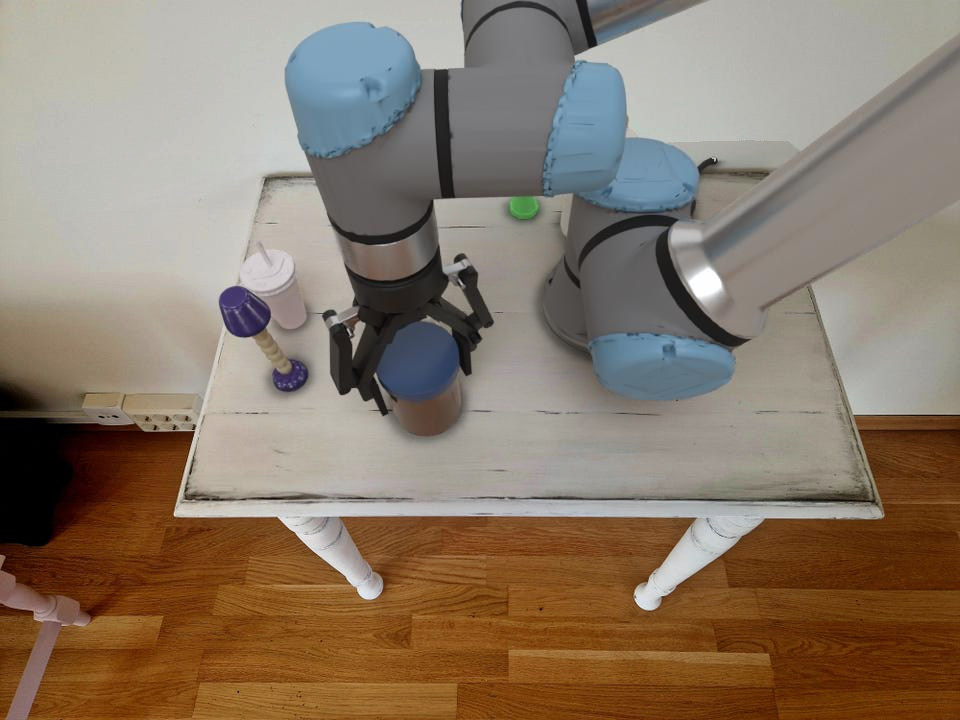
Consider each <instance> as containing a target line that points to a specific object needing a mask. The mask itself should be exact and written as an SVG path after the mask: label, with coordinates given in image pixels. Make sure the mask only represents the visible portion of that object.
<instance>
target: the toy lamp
mask: <svg viewBox="0 0 960 720" xmlns="http://www.w3.org/2000/svg"><path fill="white" fill-rule="evenodd" d="M218 307H219V311H220V314H221V317H222V320H223V323H224V326H225V328H226V330H227V331H228V332H229V333H230V334H231V335H232V336H234V337H236V338H241V339H245V338H246V339H247V338H252V339H253V340H254V342H255V343H256V345H257V346H259V347H260V351H262V353H263V354H264V355H265V356H266V358H267V359H268V360H269V361H270V363H271V364H272V366H274V369H273V370H272V375H271V376H272V382H273V383H272V384H273V385H274V387H275V388H276V389H277V390H278V391H281V392H283V393H284V392H285V393H288V392H289V393H291V392H295V391H297V390H298V389H300V388H302V387H303V386H304V385H305V384H306V382H307V380H308V378H309V370H308V368H307V366H306V365H305V364H304V363H303V362H302V361H300V360H298V359H292V358H288V357H287V355H286V354H285V353H284V351H283V349H282V348H281V347H280V346H279V343H278V342H277V341H276V340H275V339H274V337H273V336H272V334H271V333H270V332H269V330H268V325H269V324H270V322H271V319H272V318H271V317H272V315H271V311H270V308H269V306H268V305H267V304H266V303H265V302H264V301H263V300H262V299H260V298H259V297H257V296H256V295H255V294H253V293H252V292H251V291H249V290H248V289H246V288H244V286H243V285H242V286H241V285H232V286H230V287H227V288H226V289H224V290H223V291H222V292H221V293H220V295H219V297H218Z"/></svg>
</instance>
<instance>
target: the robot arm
mask: <svg viewBox="0 0 960 720" xmlns="http://www.w3.org/2000/svg"><path fill="white" fill-rule="evenodd" d="M709 1H710V0H461V2H460V14H459V15H460V20H461V27H462V33H463V48H464V49H463V51H464V53H463V57H464V59H463V67H452V68H450V67H449V68H440V69H439V68H437V69H436V68H421V64H420V63H419V62H418V60H417V58H416V53H415V50H414V47H413V45H412V44H411V43H410V41H409V40H408V39H407V38H406V37H405V36H404V35H403V34H402V33H401V32H399V31H398V30H396V29H394V28H392V27H389V26H380V27H376V26H375V25H374V24H373V23H371V22H370V21H349V22H341V23H337V24H333V25H330V26H326V27H324V28H320V29H319V30H317V31H315V32H313V33H312V34H310V35H309V36H307V37H306V38H304V39H303V40H302V41H300V42H299V44H297V46H296V47H295V48H294V49H293V51H292V52H291V53H290V54H289V55H290V56H289V57H288V60H287V63H286V66H285V67H284V86H285V91H286V94H287V98H288V101H289V105H290V108H291V111H292V116H293V118H294V123H295V126H296V130H297V135H296V138H297V140H298V144H299V146H300V148H301V150H302V151H303V152H304V155H305V158H306V161H307V163H308V165H309V169H310V171H311V174H312V176H313V179H314V181H315V185H316V187H317V190H318V192H319V195H320V198H321V200H322V203H323V205H324V208H325V211H326V216H327V218H328V220H329V224H330V226H331V230H332V232H333V235H334V238H335V241H336V244H337V247H338V250H339V253H340V256H341V259H342V261H343V265H344V269H345V270H346V274H347V277H348V280H349V283H350V285H351V288H352V291H353V295H354V297H353V300H352V303H351V307H349V308H347V309H345V310H343V311H341V312H339V313H337V311H336V310H335V309H333V308H332V309H327V310H325V311H323V313H322V315H321V317H322V320H323V322H324V324H325V326H326V328H327V330H328V334H329V375H330V377H331V379H332V382H333V384H334V386H335V388H336V390H337V391H338V394H339V396H345V395H348V394H350V393H351V391H352V389H357V391H358V394H359V395H360V397H361V399H362V401H363V402H365V403H367V402H369V401H371V400H374V402H375V404H376V406H377V408H378V411H379V412H380V414H381V416H382V417H386V416H387V415H389V414H390V412H389V409H388V407H387V405H386V401H385V398H384V397H383V393H382V391H381V388H380V385H379V383H378V382H377V380H376V377H375V375H376V369H377V367H378V365H379V362H380V360H381V358H382V355H383V353H384V351H385V348H386V346H387V344H391V343H392V342H393V339H394V337H395V335H396V332H397V331H398V330H401V329H403V328H405V327H406V326H408V325H409V324H411V323H414V322H418V321H424V320H425V319H427V318H428V317H429V318H431V319H432V320H434V321H435V322H438V323H440V322H441V323H442V324H444V325H446V326H447V327H449V328H450V329H451V335H452V336H453V338H454V339H455V341H456V343H457V346H458V350H459V358H460V369H461V370H462V372H463V375H464V376H465V377H468V376H470V375H473V369H472V368H473V367H472V356H471V355H472V354H471V353H472V352H474V351H476V350H477V348H478V345H479V344H480V343H481V342H482V341H483V337H482V335H481V334H480V332H479V331H480V330H481V329H482V328H484V329H489V328H492V327H493V325H494V324H495V321H494V319H493V316H492V314H491V312H490V310H489V308H488V306H487V304H486V302H485V300H484V298H483V296H482V294H481V292H480V290H479V287H478V282H479V272H478V270H477V269H476V268H475V266H474V265H473V263H472V262H471V261H470V259H469V257H468V256H467V255H466V254H465V253H463V252H460V253H458V254H456V255H455V256H454V258H453V263H452V264H449V265H446V266H444V267H443V261H442V253H441V246H440V241H439V240H440V239H439V236H440V235H439V229H438V222H437V214H436V208H435V207H436V206H435V201H434V200H448V199H449V200H450V199H452V200H455V199H482V198H483V199H485V198H515V197H529V196H532V197H545V198H554V197H555V196H559V195H564V194H569V193H573V198H572V204H571V211H570V218H569V225H568V232H567V238H566V237H565V238H566V240H565V248H564V254H563V255H562V257H561V258H560V259H559V261H558V262H557V264H556V265H555V267H554V268H553V269H552V271H551V272H550V273H549V276H548V277H547V279H546V282H545V285H544V290H543V298H542V307H543V314H544V316H545V320H546V321H547V323H548V325H549V327H550V329H551V330H552V331H553V332H554V334H556V335H557V337H559V338H560V339H561V340H562V341H563V342H565V343H567V344H568V345H569V346H571V347H573V348H575V349H577V350H579V351H582V352H584V353H588V354H591V359H592V365H593V370H594V373H595V374H594V375H595V376H596V378H597V380H598V382H599V383H600V384H601V386H602V387H604V388H605V389H606V390H607V391H610V392H611V393H612V394H615V395H618V396H620V397H623V398H627V399H631V400H637V401H645V402H661V401H662V402H667V401H668V402H669V401H679V400H685V399H690V398H691V399H692V398H695V397H700V396H702V395H706V394H709V393H712V392H714V391H717V390H718V389H721V388H722V387H723V386H725V385H727V384H728V383H729V382H730V381H731V379H732V377H733V376H734V374H735V373H736V364H737V362H736V356H735V355H734V354H733V351H734V350H735V349H737V348H739V347H741V346H742V345H744V344H745V343H748V342H750V341H751V340H754V339H755V338H757V337H759V336H760V335H761V334H763V332H764V331H765V329H766V327H767V322H768V317H769V313H770V309H771V308H773V307H774V306H776V305H778V304H779V303H781V302H783V301H784V300H787V299H788V298H790V297H793V295H795V294H797V293H799V292H801V291H802V290H804V289H806V288H807V287H809V286H811V285H813V284H815V283H817V282H818V281H820V280H821V279H823V278H825V277H827V276H829V275H831V274H832V273H834V272H836V271H838V270H839V269H841V268H842V267H845V266H847V265H849V264H850V263H852V262H853V261H856V260H857V259H859V258H861V257H862V256H864V255H866V254H868V253H870V252H871V251H873V250H875V249H876V248H878V247H881V246H882V245H884V244H885V243H888V242H889V241H891V240H893V239H894V238H896V237H898V236H900V235H902V234H903V233H905V232H907V231H909V230H910V229H912V228H915V227H916V226H918V225H919V224H921V223H923V222H924V221H926V220H928V219H930V218H932V217H933V216H935V215H938V214H939V213H940V212H942V211H944V210H946V209H948V208H949V207H952V206H953V205H955V204H957V203H958V202H960V32H958V33H957V34H956V35H954V36H953V37H952V38H950V39H949V40H947V41H946V42H945V43H943V44H942V45H940V46H939V47H938V48H937V49H936V50H934V51H933V52H932V53H930V54H929V55H927V56H926V57H925V58H923V59H922V60H921V61H919V62H918V63H917V64H915V65H914V66H913V67H911V68H910V69H909V70H907V71H906V72H905V73H903V74H902V75H900V76H899V77H898V78H897V79H895V80H893V82H892V83H890V84H888V85H887V86H886V87H885V88H884V89H881V90H880V91H879V92H878V93H877V94H875V95H874V96H872V98H870V99H868V100H867V101H866V102H865V103H863V104H861V106H859V107H857V108H856V110H854V111H852V112H851V113H850V114H849V115H847V116H846V117H845V118H843V119H842V120H840V121H839V122H838V123H837V124H835V125H833V127H831V128H830V129H829V130H827V131H826V132H824V133H823V134H822V135H820V136H819V137H818V138H816V139H815V140H813V142H810V144H808V145H807V146H806V147H804V148H803V149H802V150H800V151H799V152H798V153H796V154H795V155H794V156H792V157H791V158H790V159H789V160H787V161H785V162H784V163H783V164H781V165H780V166H779V167H778V168H776V169H775V170H774V171H772V172H771V173H770V174H768V175H767V176H766V177H764V178H763V179H761V180H760V181H759V182H758V183H756V184H755V185H753V186H752V187H751V188H749V189H748V190H747V191H745V192H744V193H743V194H741V195H740V196H739V197H737V198H736V199H735V200H733V201H732V202H731V203H729V204H728V205H727V206H725V207H724V208H722V210H720V211H718V212H717V213H716V214H715V215H713V216H712V217H711V218H710V219H708V220H701V219H693V218H692V215H694V212H695V211H696V206H697V201H696V198H697V195H698V194H699V184H700V174H701V173H702V172H703V170H705V169H706V168H708V167H709V166H711V165H712V164H714V165H715V164H717V163H718V162H719V160H718V158H717V157H716V161H715V162H714V159H712V158H711V157H708V158H709V159H708V158H706V159H707V160H706V159H705V160H703V161H702V162H701V163H700V164H699V165H696V163H695V161H694V160H693V159H692V158H691V157H690V156H689V154H687V153H686V152H685V151H683V150H682V149H680V148H679V147H677V146H674V145H672V144H668V143H665V142H663V141H662V140H658V139H653V138H649V137H639V136H638V137H629V138H625V137H626V124H627V115H628V108H627V107H628V106H627V93H626V85H625V82H624V78H623V76H622V74H621V72H620V70H619V69H618V68H616V67H613V65H611V64H609V63H607V62H591V61H587V60H586V59H576V58H575V56H578V55H580V54H582V53H585V52H587V51H589V50H591V49H593V48H596V47H599V46H601V45H603V44H605V43H609V42H611V41H613V40H615V39H618V38H621V37H623V36H625V35H628V34H630V33H632V32H635V31H637V30H640V29H643V28H645V27H647V26H648V27H649V26H650V25H653V24H655V23H657V22H660V21H662V20H664V19H667V18H670V17H672V16H675V15H677V14H679V13H682V12H685V11H687V10H689V9H692V8H694V7H697V6H699V5H701V4H704V3H706V2H709ZM449 283H452V284H453V286H455V287H459V288H460V290H461V293H462V294H463V296H464V297H465V299H466V301H467V303H468V305H469V307H470V309H471V310H472V312H471V313H470V314H467V313H465V312H464V311H463V310H461V308H459V307H457V306H456V305H454V304H453V303H451V302H450V301H449V300H447V299H445V298H444V297H443V294H444V293H445V291H446V290H447V288H448V287H449ZM359 322H361V323H363V324H364V328H363V331H362V332H361V336H360V337H359V341H358V343H357V347H356V349H355V351H354V350H353V347H354V346H353V342H352V339H354V338H355V336H356V335H355V330H356V325H357V323H359ZM353 351H354V353H353Z"/></svg>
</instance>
